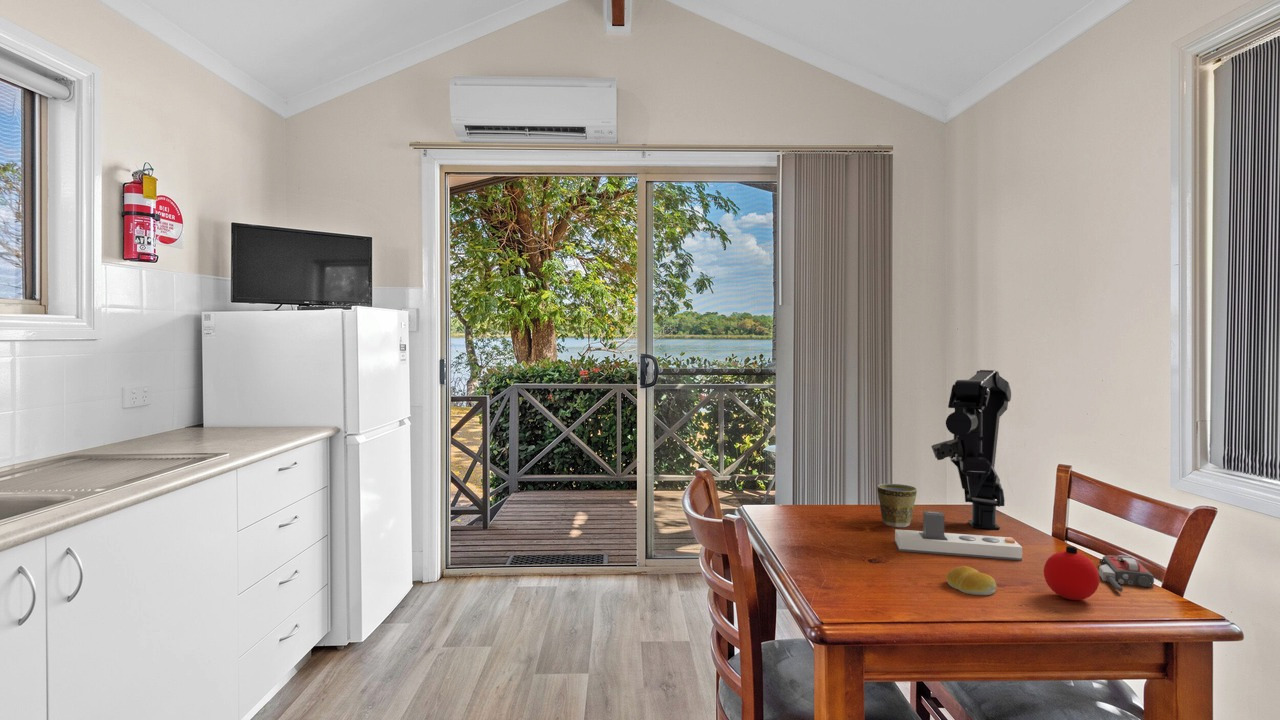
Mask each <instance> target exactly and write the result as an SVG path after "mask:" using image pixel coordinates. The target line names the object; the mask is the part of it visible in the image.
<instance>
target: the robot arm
mask: <svg viewBox="0 0 1280 720" xmlns="http://www.w3.org/2000/svg"><path fill="white" fill-rule="evenodd" d="M1011 399H1012V389H1011V386H1010V382H1008V381H1007V380H1006V379H1005V378H1003V377H1002V376H1000V372H999V371H998V370H993V369H980V370H976V374H974V375H973V376H971V378H969V379H956V381H955V382H954V384H952V386H951V391H950V395H949V401H948V404H947V408H948V409H954V412H951V413H950V414H948V415H947V417H946V420H945V426H946V429H947V431H948V432H949V433H951V434H952V435H953V439H950V440H945V441H943V442H939V443H936V444H935V443H934V444H933V445H931V446H930V447H931V449H932V453H933V454H934V457H935V459H937V461H941V460H944V459H945V458H946V459H947V458H950V461H951V463H953V464H954V466H955V467H956V469H957V472H958V476H959V480H960V485H961V488H962V490H963V491H964V502H965V503H971V512H972V513H971V519H968V521H967V522H968V523H969V524H970V526H971V527H973V528H974V529H975V528H976V529H987V530H990V529H991V530H1000V529H1001V527H1000V526H999V525H998V524H997V522H996V521H997V507H998V508H999V507H1005V501H1006V500H1005V493H1004V489H1003V488H1002V484H1001V483H1000V482H1001V480H1000V477H999V476H998V474H997V471H996V470H995V464H996V455H997V445H998V437H999V436H998V435H999V427H1000V426H999V425H1000V419H1001V416H1003V415H1004V414H1005V412H1006V411H1007V410H1008V406H1009V403H1010V402H1011Z"/></svg>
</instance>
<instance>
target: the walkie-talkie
mask: <svg viewBox="0 0 1280 720" xmlns="http://www.w3.org/2000/svg"><path fill="white" fill-rule="evenodd" d="M1101 560H1102V561H1101ZM1103 561H1104V562H1103ZM1099 564H1100V566H1099V567H1098V570H1099V571H1098V573H1099V578H1101V580H1102V581H1103V582H1106V581H1107V582H1108V583H1110V584H1111V585H1112V587H1113V588H1115V589H1116V590H1117V591H1118V592H1123V587H1122V586H1121V585H1127V584H1128V586H1135V585H1138V586H1137V587H1143V588H1154V584H1155V577H1154V575H1153V574H1152V572H1150V570H1148V569H1147V568H1146V567H1145V565H1143V564H1142V563H1141V562H1140V561H1139V560H1137V559H1135V558H1133V557H1132V556H1130V555H1122V554H1121V555H1119V554H1118V555H1112V554H1107V555H1104V556H1103V557H1102V559H1101V558H1100V559H1099ZM1118 583H1120V584H1118ZM1150 583H1151V584H1150ZM1152 584H1153V585H1152Z"/></svg>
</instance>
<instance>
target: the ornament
mask: <svg viewBox="0 0 1280 720" xmlns="http://www.w3.org/2000/svg"><path fill="white" fill-rule="evenodd" d="M1065 547H1066V548H1065V550H1062V551H1058V552H1056V553H1053V554H1051V556H1049V557H1048V558H1047V560H1046V562H1045V564H1044V566H1043V576H1044V580H1045V582H1046V584H1047V586H1048V587H1049V589H1051V591H1052V592H1054V593H1055V594H1056V595H1058V596H1059V597H1061V598H1064V599H1066V600H1071V601H1081V600H1086V599H1088V598H1090V597H1091V596H1093V595H1094V594H1095V593H1096V592H1097V590H1098V588H1099V586H1100V585H1099V584H1100V580H1101V579H1100V575H1099V571H1098V570H1099V569H1098V568H1097V567H1096V565H1095V564H1094V562H1093V561H1092V560H1091V559H1089V557H1087V556H1086V555H1084V554H1082V553H1080V552H1078V548H1077V547H1076V546H1072V545H1067V546H1065Z"/></svg>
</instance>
